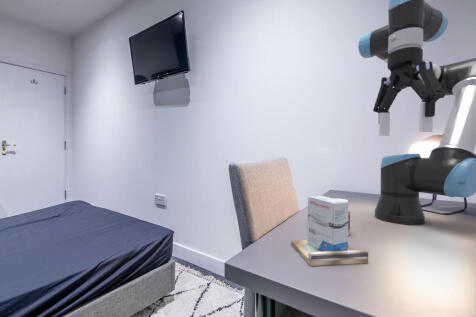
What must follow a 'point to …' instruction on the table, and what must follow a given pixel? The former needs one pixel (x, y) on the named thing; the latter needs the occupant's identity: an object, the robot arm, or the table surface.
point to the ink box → (327, 223)
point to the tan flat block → (329, 255)
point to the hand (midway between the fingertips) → (402, 134)
